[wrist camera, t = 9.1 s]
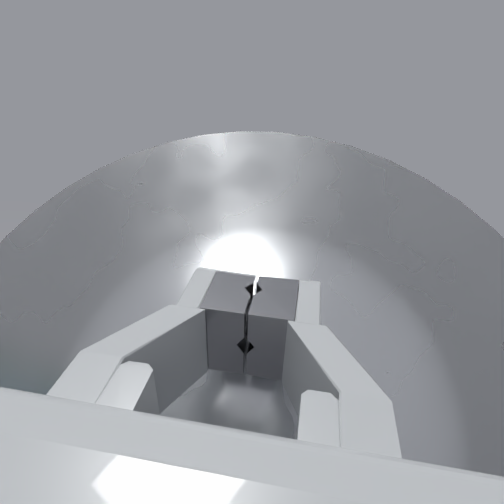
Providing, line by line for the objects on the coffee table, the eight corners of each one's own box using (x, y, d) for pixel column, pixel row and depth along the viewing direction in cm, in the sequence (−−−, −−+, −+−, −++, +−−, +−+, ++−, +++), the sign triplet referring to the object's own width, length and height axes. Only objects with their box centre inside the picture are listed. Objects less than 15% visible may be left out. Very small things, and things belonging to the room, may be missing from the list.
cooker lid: (672, 1108, 6) (757, 1269, 5) (-395, 729, 9) (-490, 779, 8) (559, 176, 12) (588, 154, 11) (-87, 124, 15) (-118, 103, 14)
